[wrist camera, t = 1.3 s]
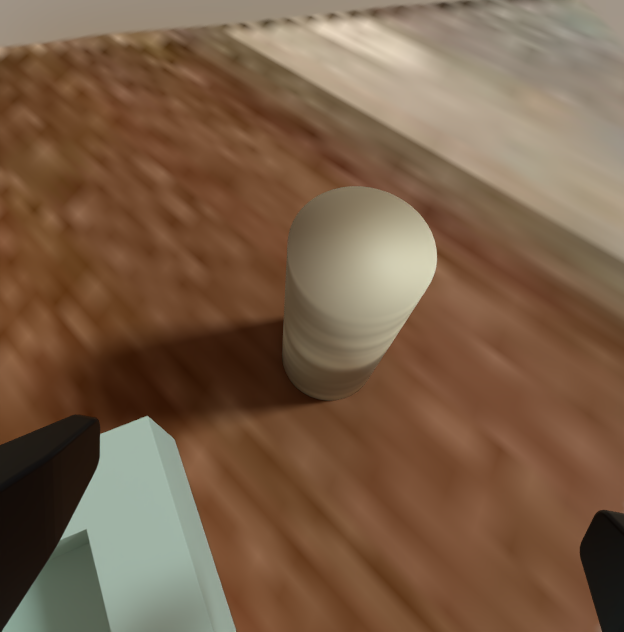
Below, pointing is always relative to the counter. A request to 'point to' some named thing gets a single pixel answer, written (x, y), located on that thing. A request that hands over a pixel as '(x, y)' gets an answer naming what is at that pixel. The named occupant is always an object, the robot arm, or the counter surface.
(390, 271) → the beech peg
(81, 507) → the socket block
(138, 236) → the counter surface
